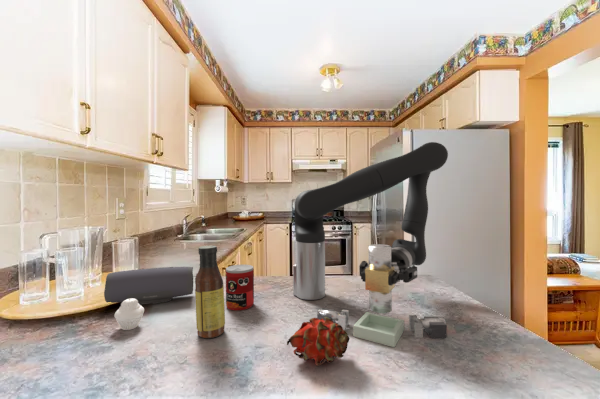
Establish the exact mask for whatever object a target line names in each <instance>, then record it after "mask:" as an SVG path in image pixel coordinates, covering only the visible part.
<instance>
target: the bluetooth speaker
mask: <svg viewBox="0 0 600 399" xmlns="http://www.w3.org/2000/svg"><path fill="white" fill-rule="evenodd" d="M193 271H194V266H166V267H165V266H164V267H150V268H142V269H141V268H138V269H129V270H120V271H113V272H108V273H107V275H106V278H105V284H104V290H103V296H104V301H105V302H106V303H108V302H111V303H112V304H115V303H116V304H117V303H122V302H123V301H124V300H126V299H129V298H130V299H131V298H134V299H137V300H138V303H139V304H140V305H147V304H156V303H157V304H159V303H165V302H170V301H172V300H173V298H177V297H178V298H179V297H185V296H188V295H192V294H194V273H193Z"/></svg>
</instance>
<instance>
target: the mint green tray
mask: <svg viewBox="0 0 600 399" xmlns="http://www.w3.org/2000/svg"><path fill="white" fill-rule="evenodd" d="M352 326H353V327H352V332H353V334H352V336H354V338H357V339H362V340H366V341H370V342H373V343H376V344H380V345H385V346H387V347H388V346H389V347H392V348H395V347H396V346H397V344H398V342H399V340H400V338H401V336H402V335H403V333H404V331H405V319H401V318H396V317H394V316H393V317H392V316H389V315H388V316H387V315H384V314H383V315H382V314H380V313H375V312H374V313H373V312H370V311H369V312H367V311H366V312H365V313H364V314H363V315H362V316H361V317H360V318H359V319H358V320H357V321H356V322H355V323H354V324H353V325H352Z"/></svg>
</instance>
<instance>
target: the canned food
mask: <svg viewBox="0 0 600 399" xmlns="http://www.w3.org/2000/svg"><path fill="white" fill-rule="evenodd" d="M254 271H255V270H254V266H253V265H251V264H234V265H230V266H227V267H226V268H225V305H226V307H227V309H228V310H230V311H237V312H238V311H244V310H245V311H246V310H249V309H250V308H251V307H252V306H254V302H255V299H254V298H255V290H254V288H255V284H254V282H255V281H254V280H255V278H254V277H255V272H254Z"/></svg>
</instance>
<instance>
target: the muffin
mask: <svg viewBox="0 0 600 399" xmlns="http://www.w3.org/2000/svg"><path fill="white" fill-rule="evenodd" d="M144 312H145V308H144V307H143V306H142V304H139V303H138V300H137V299H134V298H131V299H130V298H129V299H126V300H124V301H123V302H120V306H119V308H118V309H117V310H116V311H115V313H114V315H113V316H114V319H115V320H116V322H117V324H118V325H119V326H120V328H121V330H123V331H130V330H133V329H136V328H137V327H138V325H139V324H140V322H141V320H142V318H143V316H144Z"/></svg>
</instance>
